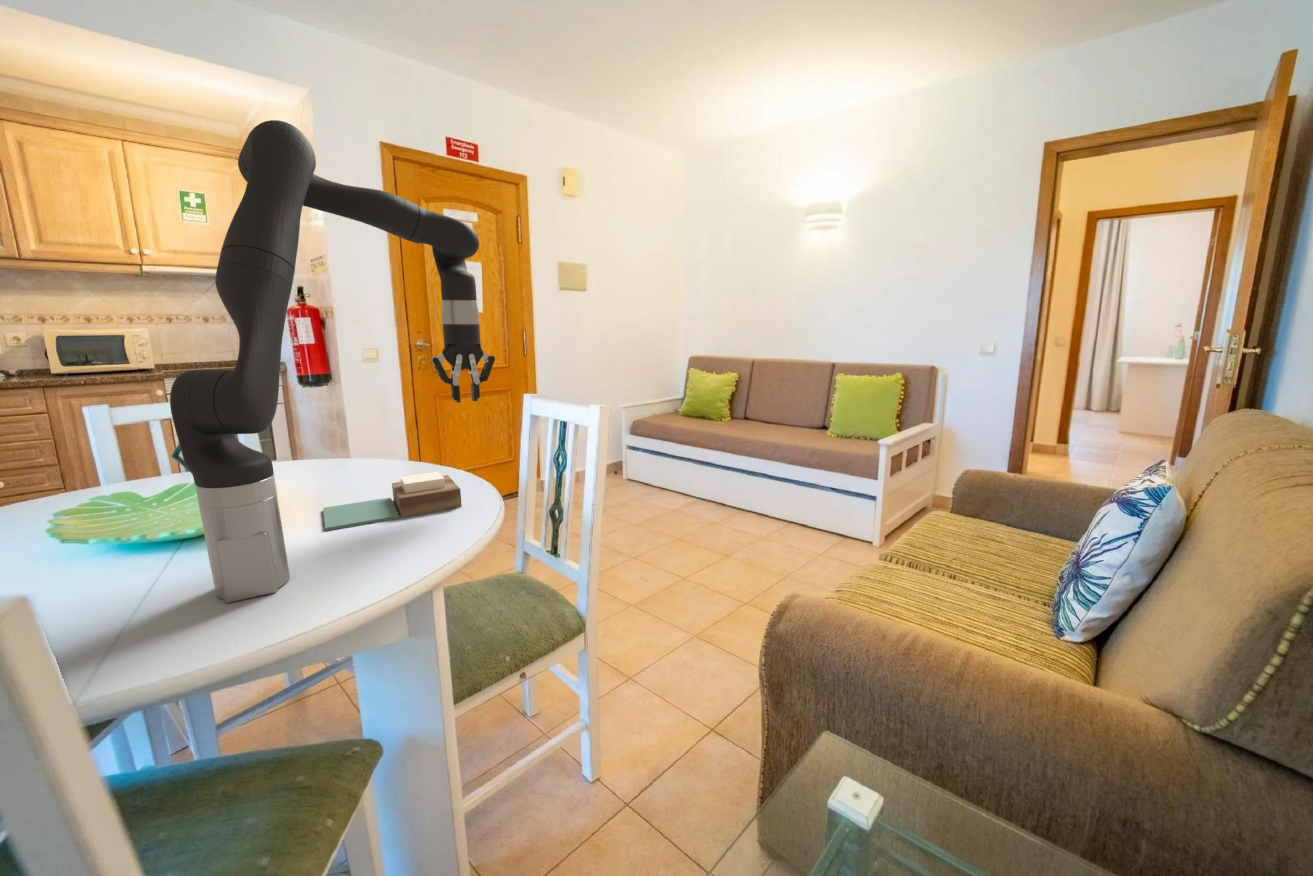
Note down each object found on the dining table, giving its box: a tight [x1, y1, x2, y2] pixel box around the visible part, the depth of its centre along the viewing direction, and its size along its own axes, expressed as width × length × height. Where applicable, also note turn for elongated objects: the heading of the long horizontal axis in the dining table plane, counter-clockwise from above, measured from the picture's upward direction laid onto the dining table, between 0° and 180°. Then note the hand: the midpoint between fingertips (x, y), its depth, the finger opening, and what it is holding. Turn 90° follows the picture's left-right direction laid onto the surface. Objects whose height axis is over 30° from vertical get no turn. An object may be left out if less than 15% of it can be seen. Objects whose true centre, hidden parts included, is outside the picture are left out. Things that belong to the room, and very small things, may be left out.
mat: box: [322, 496, 400, 532], centre depth 112 cm, size 13×13×1 cm
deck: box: [391, 474, 462, 518], centre depth 118 cm, size 12×12×4 cm
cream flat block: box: [399, 471, 445, 493], centre depth 117 cm, size 6×8×2 cm
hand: (466, 401), depth 119 cm, fingers open, 3 cm apart
